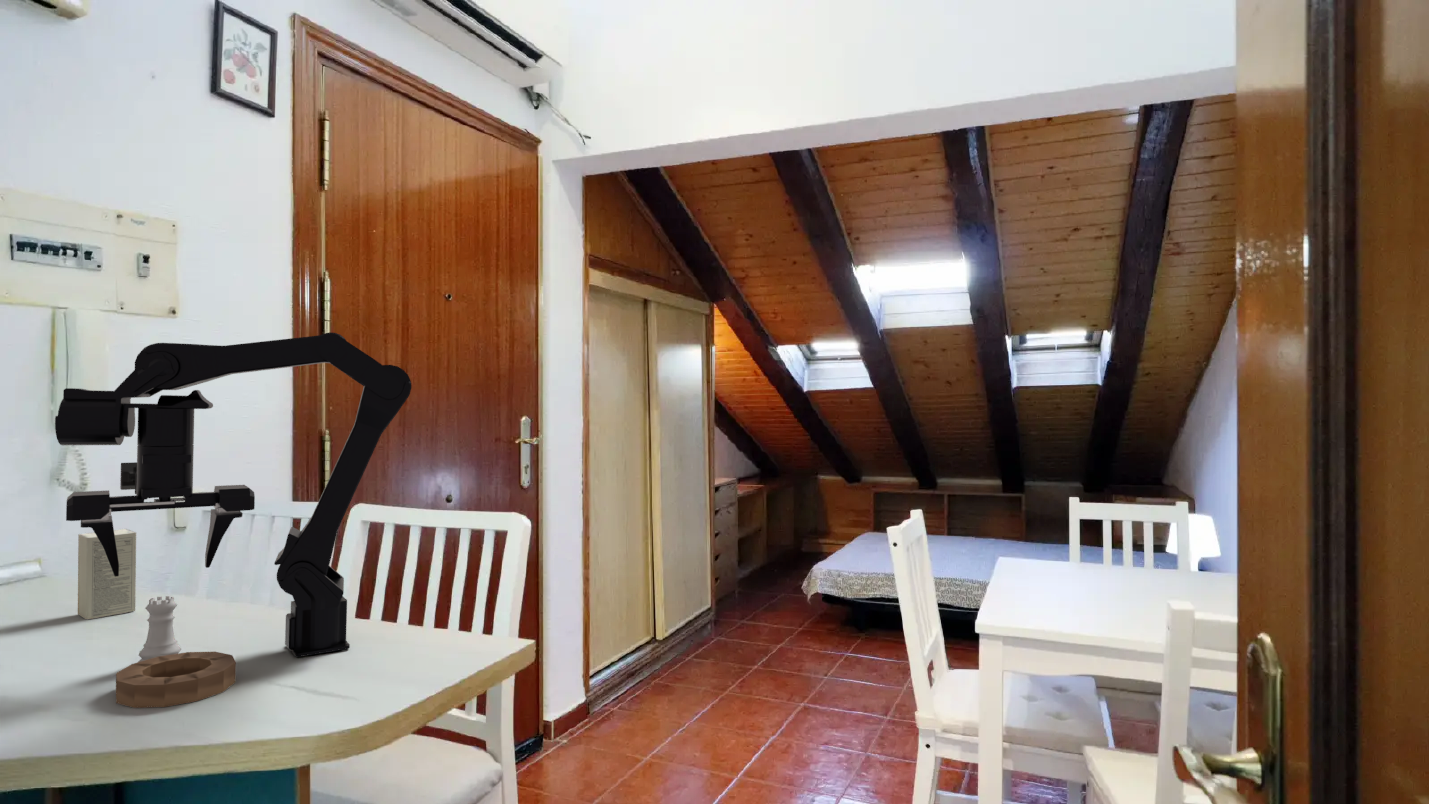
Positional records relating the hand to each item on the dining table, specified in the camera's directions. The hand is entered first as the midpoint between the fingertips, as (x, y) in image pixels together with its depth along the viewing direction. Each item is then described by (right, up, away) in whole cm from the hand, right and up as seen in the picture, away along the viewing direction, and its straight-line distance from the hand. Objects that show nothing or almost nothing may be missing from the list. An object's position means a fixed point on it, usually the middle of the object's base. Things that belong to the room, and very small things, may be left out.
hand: (163, 571), depth 97 cm
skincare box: (-23, -11, +20) cm, 33 cm away
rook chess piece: (0, -12, 0) cm, 12 cm away
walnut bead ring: (+7, -12, -8) cm, 16 cm away
